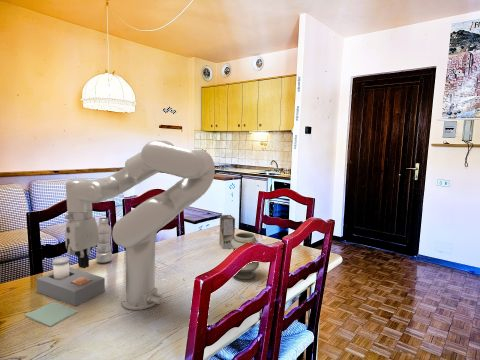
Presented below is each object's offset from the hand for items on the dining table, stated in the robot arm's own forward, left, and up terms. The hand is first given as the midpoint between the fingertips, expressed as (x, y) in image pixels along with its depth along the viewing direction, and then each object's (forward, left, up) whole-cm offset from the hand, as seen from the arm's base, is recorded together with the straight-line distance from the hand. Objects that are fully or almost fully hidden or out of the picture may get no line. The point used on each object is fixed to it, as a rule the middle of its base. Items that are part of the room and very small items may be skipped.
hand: (83, 266), depth 107 cm
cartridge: (+12, 0, -11) cm, 16 cm away
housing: (+7, 0, -11) cm, 12 cm away
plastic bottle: (+19, -25, -11) cm, 33 cm away
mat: (-1, +13, -11) cm, 17 cm away
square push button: (+1, 0, -10) cm, 10 cm away
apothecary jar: (-42, -43, -11) cm, 61 cm away
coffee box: (-18, -73, -11) cm, 76 cm away
